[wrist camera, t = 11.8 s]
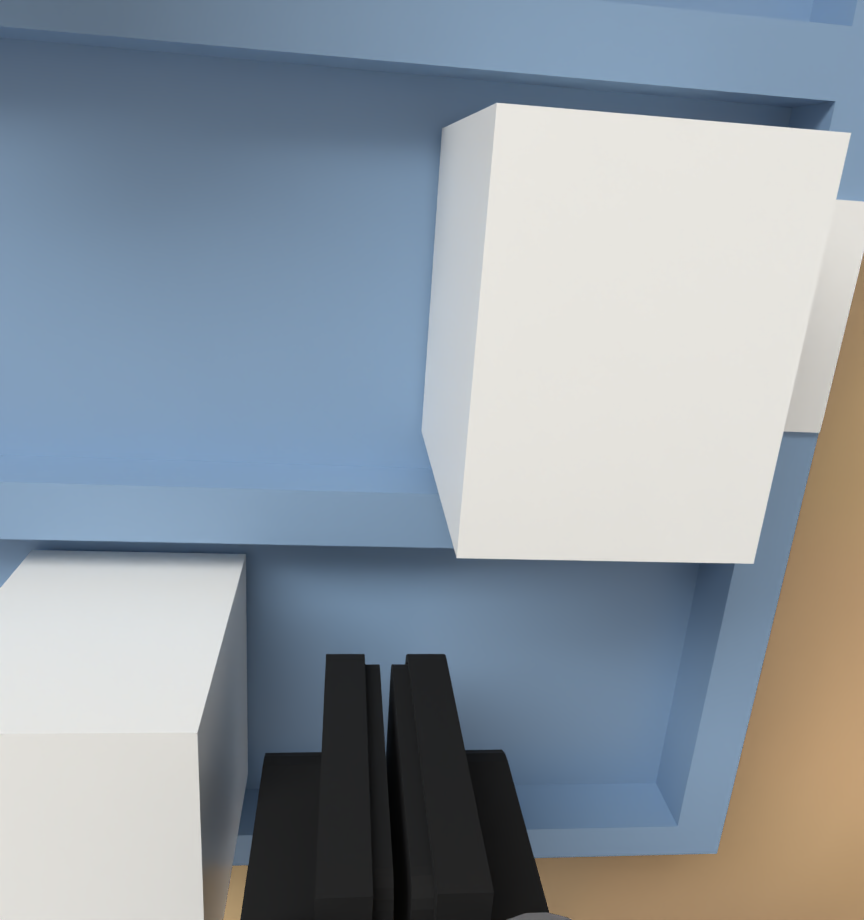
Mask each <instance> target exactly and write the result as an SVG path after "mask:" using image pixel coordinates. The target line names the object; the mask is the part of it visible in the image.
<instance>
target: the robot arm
mask: <svg viewBox="0 0 864 920" xmlns="http://www.w3.org/2000/svg"><path fill="white" fill-rule="evenodd" d="M241 920H571V919H569V918H568V917H563V916H559V915H555V914H551V913H549V910H548V907H547V903H546V899H545V896H544V892H543V888H542V885H541V881H540V877H539V874H538V870H537V866H536V863H535V859H534V855H533V852H532V848H531V844H530V841H529V837H528V833H527V830H526V826H525V822H524V818H523V815H522V811H521V807H520V804H519V800H518V796H517V793H516V789H515V785H514V782H513V778H512V774H511V771H510V767H509V763H508V760H507V757H506V754H505V752H504V751H503V750H502V749H500V750H465V747H464V742H463V737H462V732H461V727H460V722H459V717H458V712H457V707H456V703H455V698H454V693H453V688H452V683H451V678H450V673H449V668H448V663H447V658H446V655H445V654H407V655H406V659H405V664H392V665H391V673H390V691H389V709H388V727H387V745H386V752H385V737H384V721H383V706H382V690H381V675H380V665H379V664H365V654H326V665H325V686H324V708H323V730H322V752H291V753H265V756H264V761H263V767H262V774H261V781H260V788H259V794H258V801H257V808H256V815H255V822H254V829H253V836H252V843H251V850H250V857H249V864H248V871H247V878H246V885H245V892H244V899H243V906H242V913H241Z"/></svg>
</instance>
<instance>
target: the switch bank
mask: <svg viewBox="0 0 864 920" xmlns="http://www.w3.org/2000/svg"><path fill="white" fill-rule="evenodd" d="M495 103H506V104H518V105H529V106H541V107H553V108H564V109H576V110H588V111H600V112H611V113H623V114H635V115H647V116H658V117H670V118H682V119H694V120H705V121H717V122H729V123H741V124H752V125H764V126H776V127H787V128H799V129H811V130H823V131H834V132H846V133H851V136H850V140H849V145H848V149H847V154H846V158H845V162H844V167H843V171H842V176H841V180H840V184H839V189H838V193H837V198H836V202H835V207H834V211H833V215H832V220H831V224H830V229H829V233H828V237H827V242H826V246H825V251H824V255H823V259H822V264H821V268H820V273H819V277H818V282H817V286H816V290H815V295H814V299H813V304H812V308H811V312H810V317H809V321H808V326H807V330H806V334H805V339H804V343H803V348H802V352H801V357H800V361H799V365H798V370H797V374H796V379H795V383H794V387H793V392H792V396H791V401H790V405H789V409H788V414H787V418H786V423H785V427H784V432H783V436H782V440H781V445H780V449H779V454H778V458H777V462H776V467H775V471H774V476H773V480H772V484H771V489H770V493H769V498H768V502H767V507H766V511H765V515H764V520H763V524H762V529H761V533H760V537H759V542H758V546H757V551H756V555H755V559H754V564H740V563H687V562H634V561H581V560H527V559H474V558H456V554H455V550H454V547H453V543H452V539H451V536H450V532H449V529H448V525H447V521H446V518H445V514H444V511H443V507H442V503H441V500H440V496H439V493H438V489H437V485H436V482H435V478H434V474H433V471H432V467H431V464H430V460H429V456H428V453H427V449H426V446H425V442H424V438H423V435H422V431H421V430H422V416H423V401H424V386H425V372H426V357H427V342H428V328H429V313H430V298H431V284H432V269H433V254H434V239H435V225H436V210H437V195H438V181H439V166H440V151H441V137H442V128H444V127H446V126H448V125H450V124H453V123H455V122H457V121H459V120H461V119H463V118H465V117H468V116H470V115H472V114H474V113H476V112H478V111H480V110H483V109H485V108H487V107H489V106H491V105H493V104H495ZM863 253H864V0H0V588H1V587H2V585H3V584H4V583H5V582H6V581H7V579H8V578H9V577H10V576H11V575H12V573H13V572H14V571H15V570H16V569H17V568H18V566H19V565H20V564H21V563H22V562H23V560H24V559H25V558H26V557H27V556H28V554H29V553H30V552H31V551H32V550H58V551H111V552H164V553H218V554H246V621H247V727H248V776H247V782H246V788H245V794H244V800H243V806H242V812H241V818H240V824H239V829H238V835H237V841H236V847H235V853H234V859H233V865H232V866H234V865H248V864H249V857H250V850H251V843H252V836H253V829H254V822H255V815H256V808H257V801H258V794H259V788H260V781H261V774H262V767H263V761H264V756H265V753H291V752H322V730H323V708H324V686H325V665H326V654H365V664H379V665H380V675H381V690H382V706H383V721H384V737H385V752H386V745H387V727H388V709H389V691H390V673H391V665H392V664H405V659H406V655H407V654H445V655H446V658H447V663H448V668H449V673H450V678H451V683H452V688H453V693H454V698H455V703H456V707H457V712H458V717H459V722H460V727H461V732H462V737H463V742H464V747H465V750H500V749H502V750H503V751H504V752H505V754H506V757H507V760H508V763H509V767H510V771H511V774H512V778H513V782H514V785H515V789H516V793H517V796H518V800H519V804H520V807H521V811H522V815H523V818H524V822H525V826H526V830H527V833H528V837H529V841H530V844H531V848H532V852H533V855H534V858H555V857H595V856H635V855H676V854H716V853H717V851H718V847H719V842H720V838H721V834H722V830H723V826H724V822H725V818H726V814H727V809H728V805H729V801H730V797H731V793H732V789H733V785H734V781H735V776H736V772H737V768H738V764H739V760H740V756H741V752H742V748H743V743H744V739H745V735H746V731H747V727H748V723H749V719H750V714H751V710H752V706H753V702H754V698H755V694H756V690H757V686H758V681H759V677H760V673H761V669H762V665H763V661H764V657H765V653H766V648H767V644H768V640H769V636H770V632H771V628H772V624H773V620H774V615H775V611H776V607H777V603H778V599H779V595H780V591H781V587H782V582H783V578H784V574H785V570H786V566H787V562H788V558H789V553H790V549H791V545H792V541H793V537H794V533H795V529H796V525H797V520H798V516H799V512H800V508H801V504H802V500H803V496H804V492H805V487H806V483H807V479H808V475H809V471H810V467H811V463H812V459H813V454H814V450H815V446H816V442H817V438H818V434H819V433H820V430H821V426H822V422H823V418H824V414H825V409H826V405H827V401H828V397H829V393H830V389H831V385H832V381H833V377H834V372H835V368H836V364H837V360H838V356H839V352H840V348H841V344H842V339H843V335H844V331H845V327H846V323H847V319H848V315H849V311H850V306H851V302H852V298H853V294H854V290H855V286H856V282H857V278H858V274H859V269H860V265H861V261H862V257H863Z"/></svg>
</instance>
